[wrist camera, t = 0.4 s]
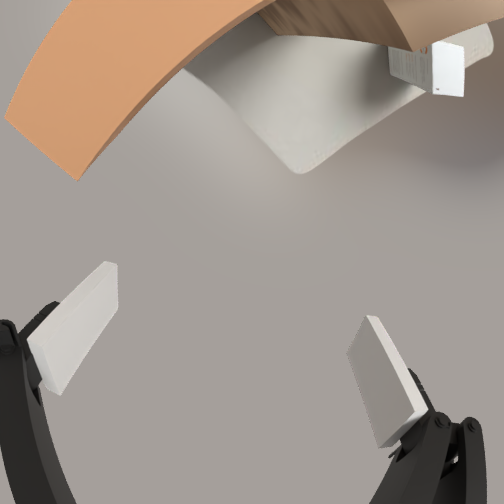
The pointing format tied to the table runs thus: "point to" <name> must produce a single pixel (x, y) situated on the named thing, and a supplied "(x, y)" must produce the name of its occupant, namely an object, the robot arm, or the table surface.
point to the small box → (431, 67)
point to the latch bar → (110, 69)
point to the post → (380, 19)
